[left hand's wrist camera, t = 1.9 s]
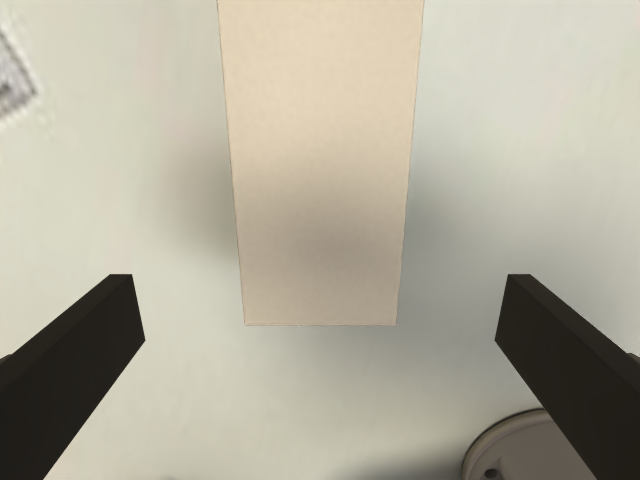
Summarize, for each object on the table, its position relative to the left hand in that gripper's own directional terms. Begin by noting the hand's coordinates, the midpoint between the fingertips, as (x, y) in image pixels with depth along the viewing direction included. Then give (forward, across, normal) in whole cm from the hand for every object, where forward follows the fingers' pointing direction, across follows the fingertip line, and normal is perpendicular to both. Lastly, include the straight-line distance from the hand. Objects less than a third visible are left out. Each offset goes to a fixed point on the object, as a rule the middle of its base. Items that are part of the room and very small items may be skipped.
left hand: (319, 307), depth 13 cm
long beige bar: (+15, 0, -26) cm, 31 cm away
